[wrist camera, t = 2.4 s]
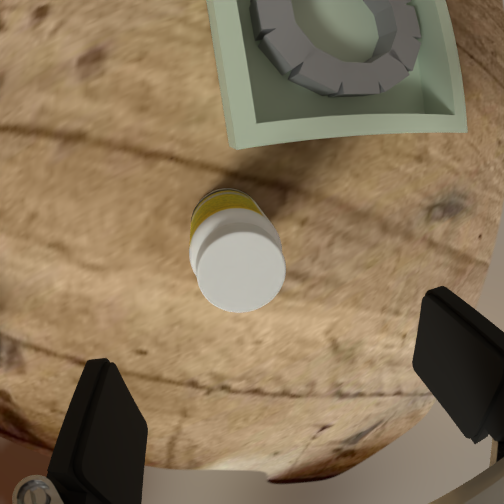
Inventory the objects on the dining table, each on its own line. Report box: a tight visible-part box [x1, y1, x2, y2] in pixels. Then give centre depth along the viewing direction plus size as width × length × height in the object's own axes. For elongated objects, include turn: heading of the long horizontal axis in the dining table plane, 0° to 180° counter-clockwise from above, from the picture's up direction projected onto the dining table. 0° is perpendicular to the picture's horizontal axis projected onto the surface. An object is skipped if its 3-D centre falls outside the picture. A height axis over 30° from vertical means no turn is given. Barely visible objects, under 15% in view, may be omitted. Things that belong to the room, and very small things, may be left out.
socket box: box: [206, 0, 468, 150], centre depth 16 cm, size 16×16×4 cm
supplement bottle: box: [189, 188, 286, 313], centre depth 18 cm, size 5×5×8 cm
